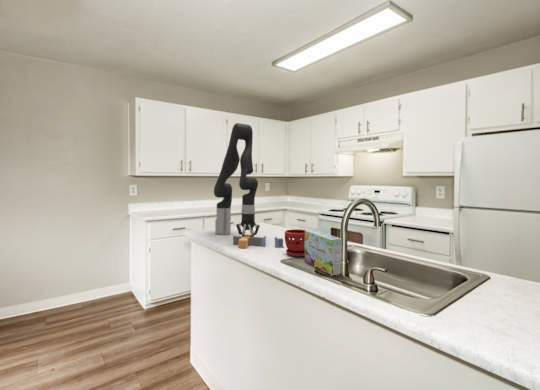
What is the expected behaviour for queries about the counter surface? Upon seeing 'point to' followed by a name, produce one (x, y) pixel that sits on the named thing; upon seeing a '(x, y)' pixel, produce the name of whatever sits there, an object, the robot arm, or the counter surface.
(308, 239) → the snack box
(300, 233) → the plant pot
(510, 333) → the counter surface
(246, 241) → the banded orange pillar
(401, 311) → the counter surface
